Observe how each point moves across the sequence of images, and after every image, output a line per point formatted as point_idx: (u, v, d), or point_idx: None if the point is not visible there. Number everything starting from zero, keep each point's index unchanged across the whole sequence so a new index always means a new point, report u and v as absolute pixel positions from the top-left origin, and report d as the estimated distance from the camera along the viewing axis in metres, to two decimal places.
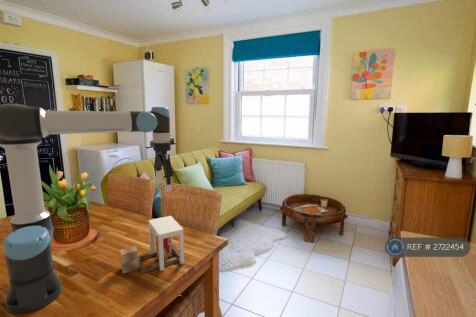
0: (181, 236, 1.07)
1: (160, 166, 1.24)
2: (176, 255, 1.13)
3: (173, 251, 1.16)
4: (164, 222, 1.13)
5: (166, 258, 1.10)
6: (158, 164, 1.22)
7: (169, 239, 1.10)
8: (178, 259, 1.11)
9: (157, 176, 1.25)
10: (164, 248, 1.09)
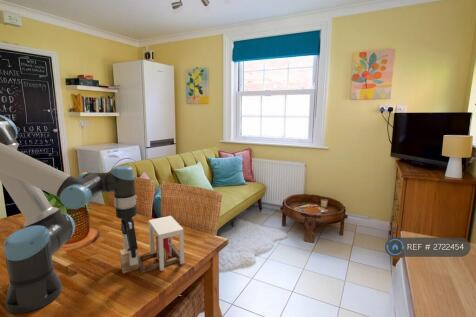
0: (181, 236, 1.07)
1: None
2: (176, 255, 1.13)
3: (173, 251, 1.16)
4: (164, 222, 1.13)
5: (166, 258, 1.10)
6: None
7: (169, 239, 1.10)
8: (178, 259, 1.11)
9: (124, 241, 1.09)
10: (164, 248, 1.09)
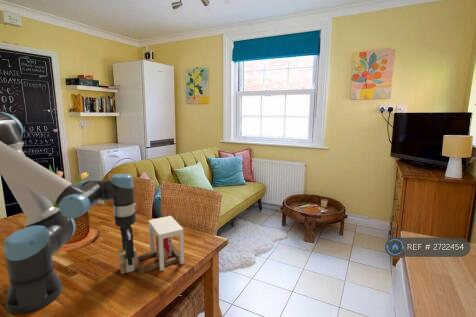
0: (181, 236, 1.07)
1: None
2: (175, 255, 1.13)
3: (172, 251, 1.16)
4: (164, 222, 1.13)
5: (166, 258, 1.10)
6: None
7: (169, 239, 1.10)
8: (177, 259, 1.10)
9: None
10: (164, 248, 1.09)
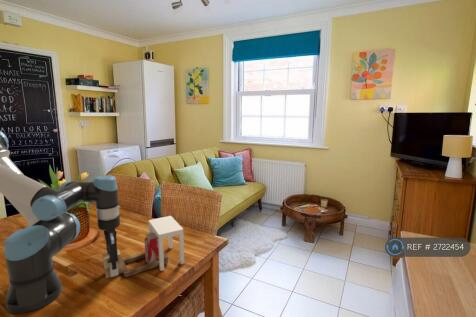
0: (181, 236, 1.07)
1: None
2: None
3: None
4: (164, 222, 1.13)
5: None
6: (108, 244, 1.02)
7: None
8: (164, 261, 1.08)
9: None
10: (153, 251, 1.07)
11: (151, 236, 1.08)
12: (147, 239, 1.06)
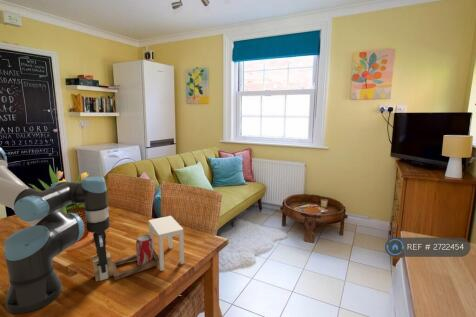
0: (181, 236, 1.07)
1: None
2: (154, 259, 1.08)
3: None
4: (164, 222, 1.13)
5: None
6: None
7: (150, 244, 1.06)
8: (155, 263, 1.06)
9: None
10: (145, 253, 1.05)
11: (142, 239, 1.06)
12: (139, 242, 1.04)
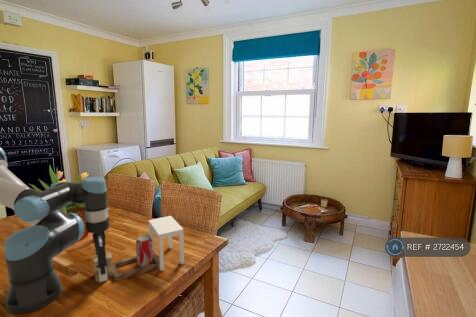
0: (181, 236, 1.07)
1: None
2: (154, 261, 1.08)
3: None
4: (164, 222, 1.13)
5: (148, 264, 1.06)
6: None
7: (150, 244, 1.06)
8: (156, 266, 1.06)
9: None
10: (145, 254, 1.05)
11: (142, 239, 1.06)
12: (139, 242, 1.04)
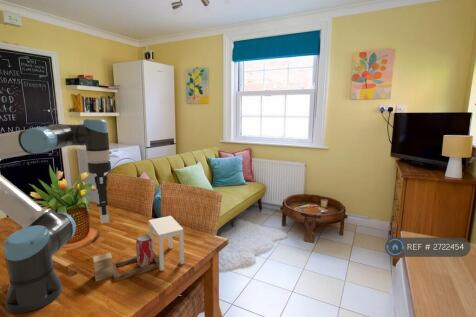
0: (181, 236, 1.07)
1: None
2: (154, 261, 1.08)
3: None
4: (164, 222, 1.13)
5: (148, 264, 1.06)
6: None
7: (150, 244, 1.06)
8: (156, 266, 1.06)
9: None
10: (145, 254, 1.05)
11: (142, 239, 1.06)
12: (139, 242, 1.04)
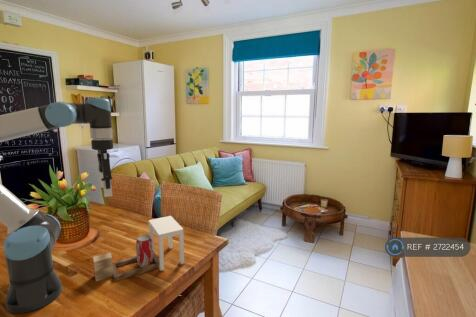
0: (181, 236, 1.07)
1: None
2: (154, 261, 1.08)
3: None
4: (164, 222, 1.13)
5: (148, 264, 1.06)
6: (101, 165, 1.06)
7: (150, 244, 1.06)
8: (156, 266, 1.06)
9: (101, 178, 1.09)
10: (145, 254, 1.05)
11: (142, 239, 1.06)
12: (139, 242, 1.04)
